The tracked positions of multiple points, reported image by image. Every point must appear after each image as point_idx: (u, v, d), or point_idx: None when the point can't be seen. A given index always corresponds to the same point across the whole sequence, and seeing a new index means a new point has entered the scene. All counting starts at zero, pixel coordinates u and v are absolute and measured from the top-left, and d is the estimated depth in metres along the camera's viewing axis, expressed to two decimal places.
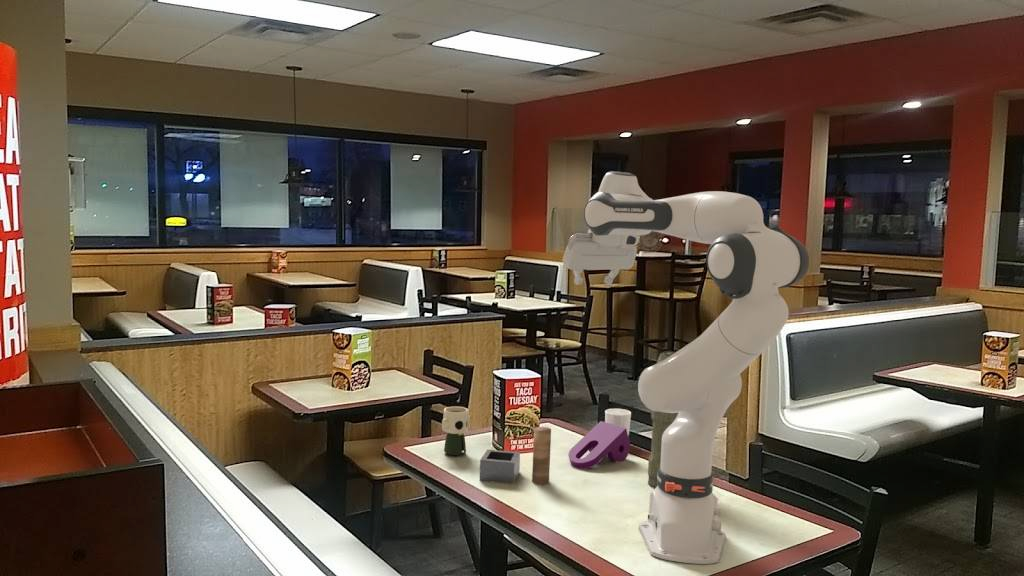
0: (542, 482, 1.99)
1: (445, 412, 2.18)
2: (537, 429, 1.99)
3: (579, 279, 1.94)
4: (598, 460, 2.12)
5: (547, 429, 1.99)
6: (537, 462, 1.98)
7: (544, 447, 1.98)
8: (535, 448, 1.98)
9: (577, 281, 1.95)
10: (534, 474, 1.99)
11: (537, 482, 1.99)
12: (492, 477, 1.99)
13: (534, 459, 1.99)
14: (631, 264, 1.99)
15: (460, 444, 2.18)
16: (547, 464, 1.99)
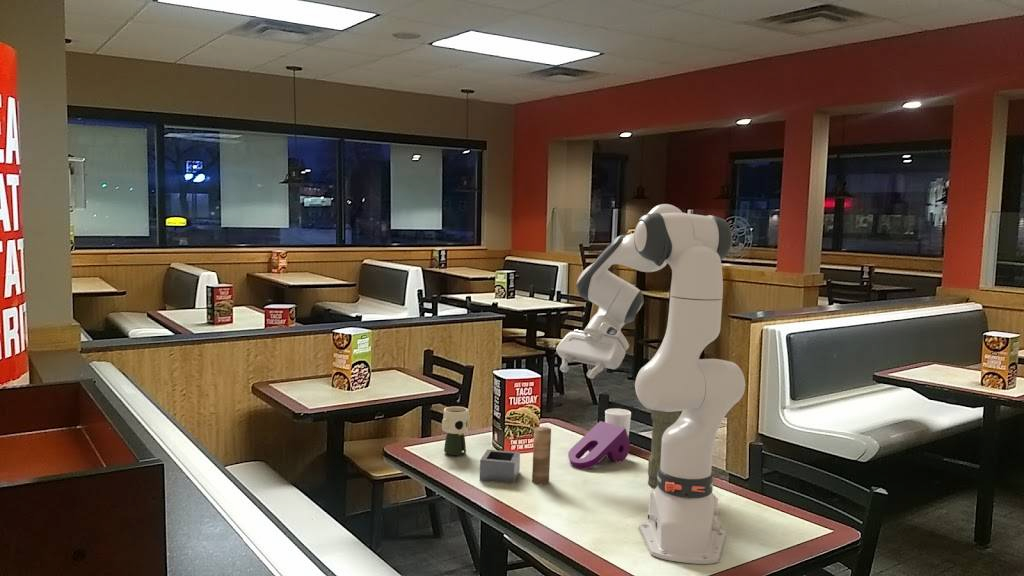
0: (542, 482, 1.99)
1: (445, 412, 2.18)
2: (537, 429, 1.99)
3: (562, 363, 2.11)
4: (598, 460, 2.12)
5: (547, 429, 1.99)
6: (537, 462, 1.98)
7: (544, 447, 1.98)
8: (535, 448, 1.98)
9: None
10: (534, 474, 1.99)
11: (537, 482, 1.99)
12: (492, 477, 1.99)
13: (534, 459, 1.99)
14: (611, 356, 2.02)
15: (460, 444, 2.18)
16: (547, 464, 1.99)
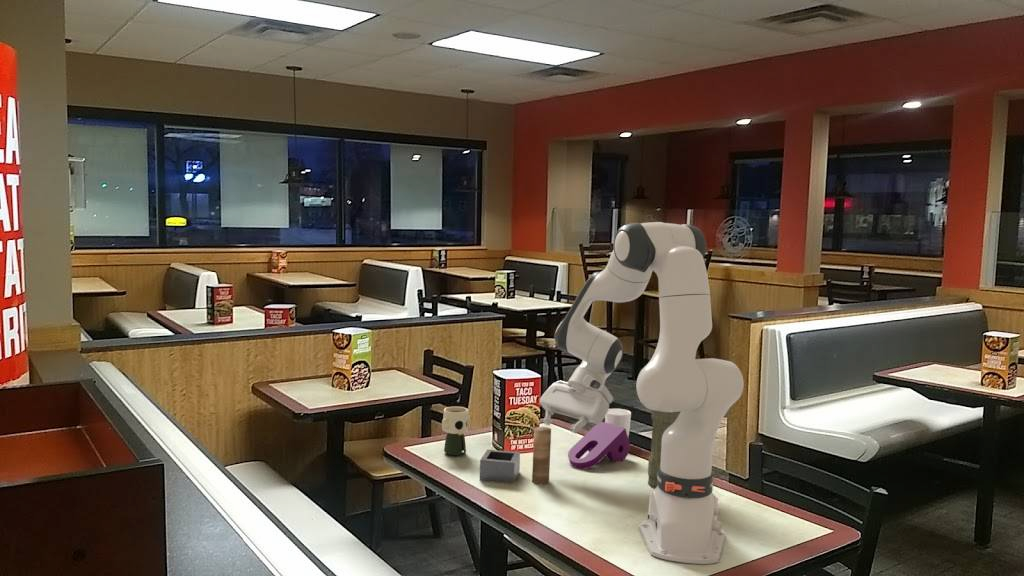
0: (542, 482, 1.99)
1: (445, 412, 2.18)
2: (537, 429, 1.99)
3: (546, 416, 2.08)
4: (598, 460, 2.12)
5: (547, 429, 1.99)
6: (537, 462, 1.98)
7: (544, 447, 1.98)
8: (535, 448, 1.98)
9: None
10: (534, 474, 1.99)
11: (537, 482, 1.99)
12: (492, 477, 1.99)
13: (534, 459, 1.99)
14: (594, 411, 1.99)
15: (460, 444, 2.18)
16: (547, 464, 1.99)
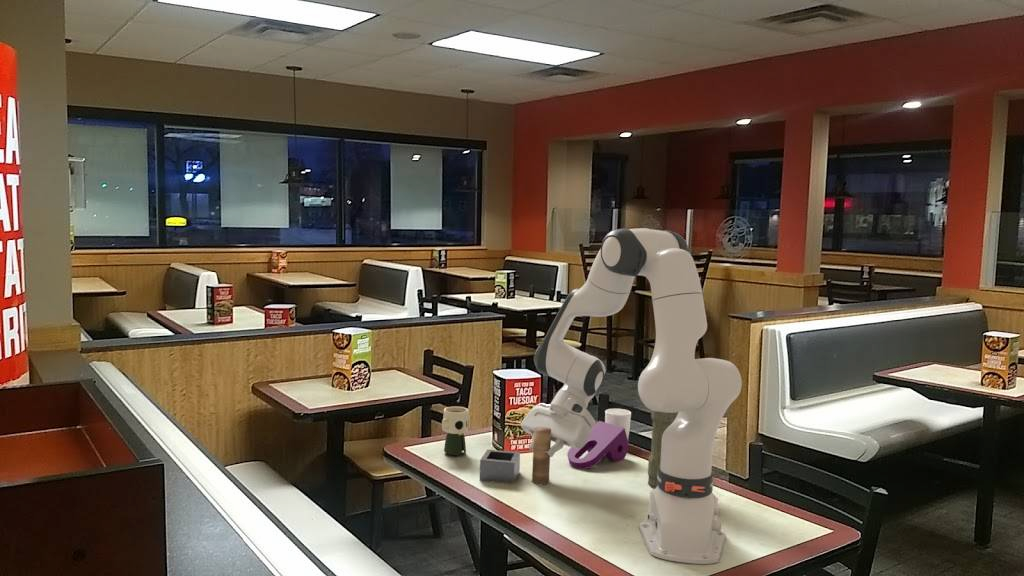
0: (542, 482, 1.99)
1: (445, 412, 2.18)
2: (537, 429, 1.99)
3: (532, 442, 2.02)
4: (597, 460, 2.12)
5: (547, 429, 1.99)
6: (537, 462, 1.98)
7: (544, 447, 1.98)
8: (535, 448, 1.98)
9: None
10: (534, 474, 1.99)
11: (537, 482, 1.99)
12: (492, 477, 1.99)
13: (534, 459, 1.99)
14: (575, 436, 1.95)
15: (460, 444, 2.18)
16: (547, 464, 1.99)
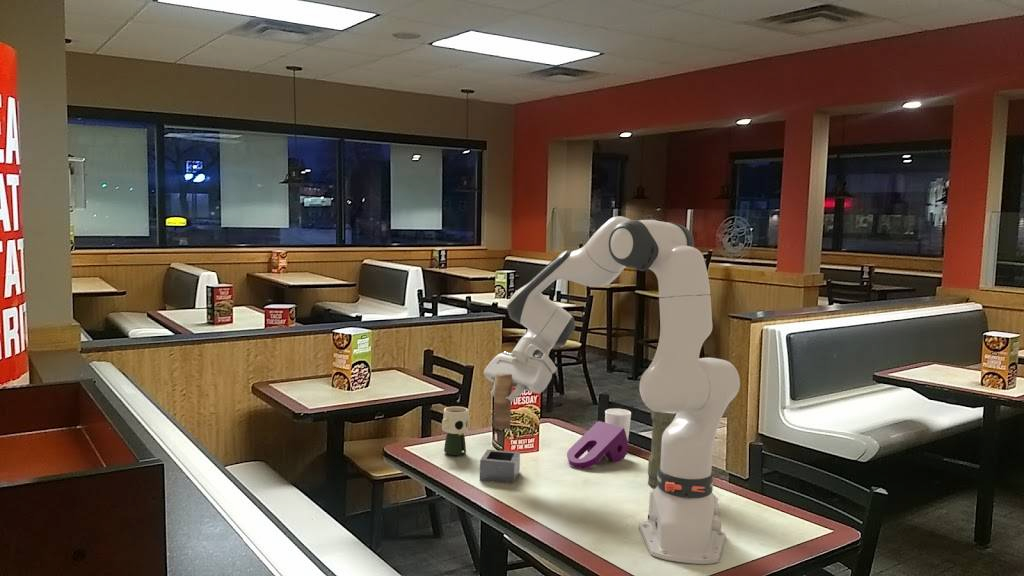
0: (503, 427, 2.00)
1: (445, 412, 2.18)
2: (498, 374, 2.01)
3: (493, 388, 2.04)
4: (597, 460, 2.12)
5: (508, 374, 2.01)
6: (497, 407, 2.00)
7: (504, 392, 1.99)
8: (496, 393, 2.00)
9: None
10: (495, 419, 2.01)
11: (498, 427, 2.00)
12: (492, 477, 1.99)
13: (495, 404, 2.00)
14: (535, 380, 1.96)
15: (460, 444, 2.18)
16: (508, 409, 2.00)
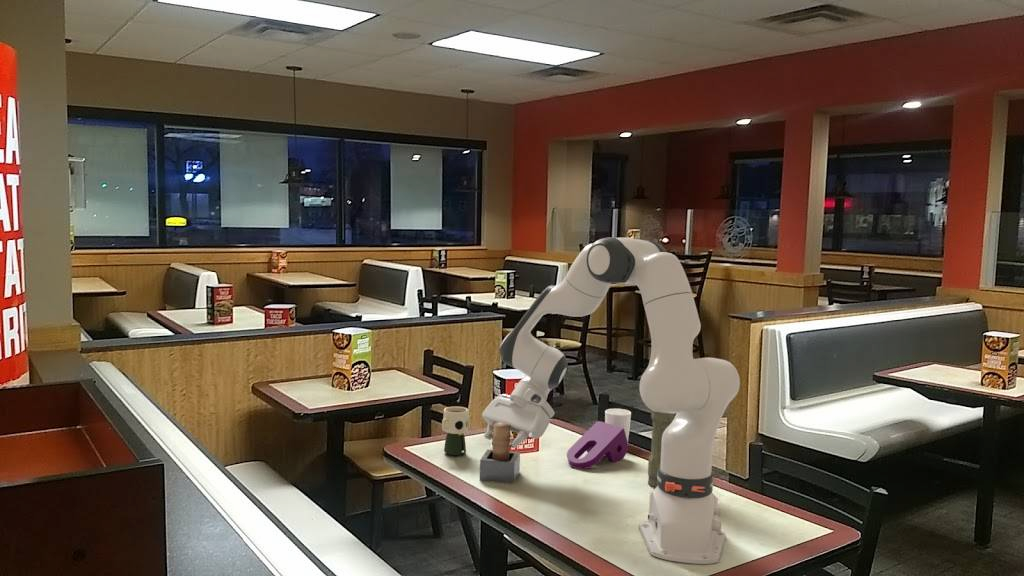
0: None
1: (445, 412, 2.18)
2: (496, 424, 2.02)
3: (487, 430, 2.06)
4: (597, 460, 2.12)
5: (506, 425, 2.02)
6: (496, 458, 2.01)
7: (503, 442, 2.00)
8: (494, 443, 2.01)
9: None
10: None
11: None
12: (492, 477, 1.99)
13: (493, 454, 2.02)
14: (533, 426, 1.97)
15: (460, 444, 2.18)
16: (506, 459, 2.01)
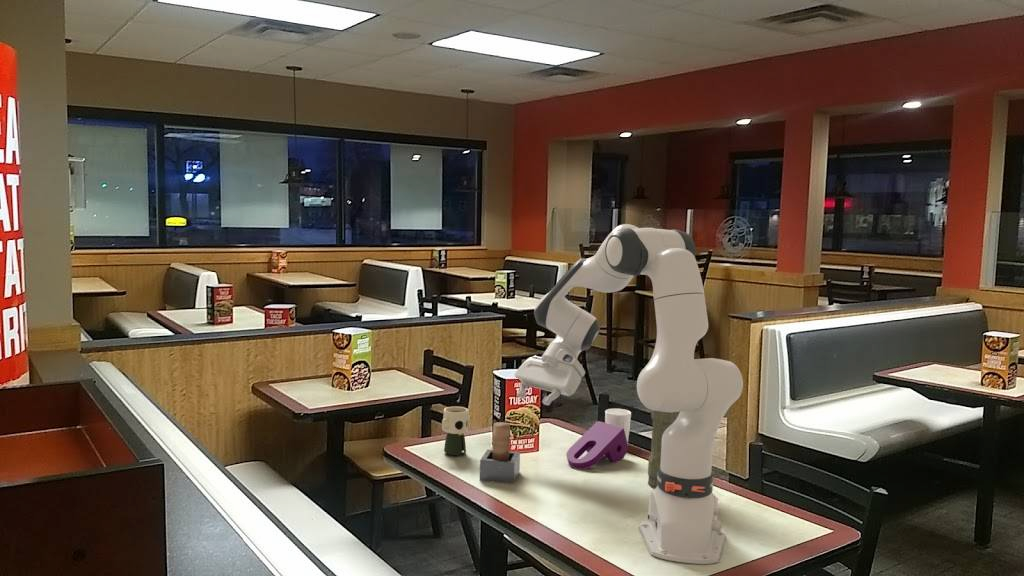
0: None
1: (445, 412, 2.18)
2: (496, 424, 2.02)
3: (520, 389, 2.14)
4: (596, 460, 2.12)
5: (506, 425, 2.02)
6: (496, 458, 2.01)
7: (503, 442, 2.00)
8: (494, 443, 2.01)
9: None
10: None
11: None
12: (492, 477, 1.99)
13: (493, 454, 2.02)
14: (566, 384, 2.05)
15: (460, 444, 2.18)
16: (506, 459, 2.01)
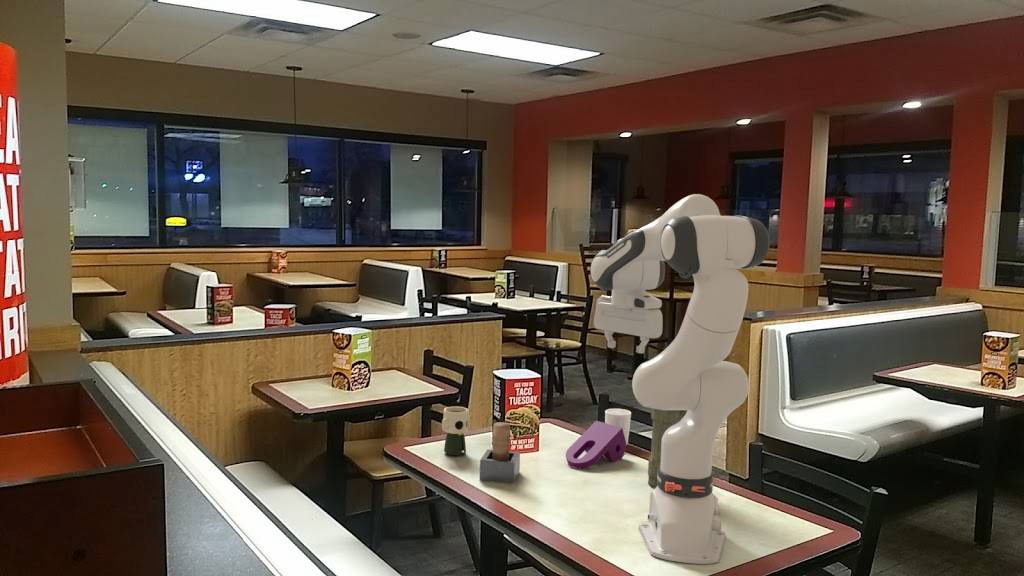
0: None
1: (445, 412, 2.18)
2: (496, 424, 2.02)
3: (608, 341, 2.08)
4: (596, 460, 2.12)
5: (506, 425, 2.02)
6: (496, 458, 2.01)
7: (503, 442, 2.00)
8: (494, 443, 2.01)
9: None
10: None
11: None
12: (492, 477, 1.99)
13: (493, 454, 2.02)
14: (651, 332, 1.96)
15: (460, 444, 2.18)
16: (506, 459, 2.01)
